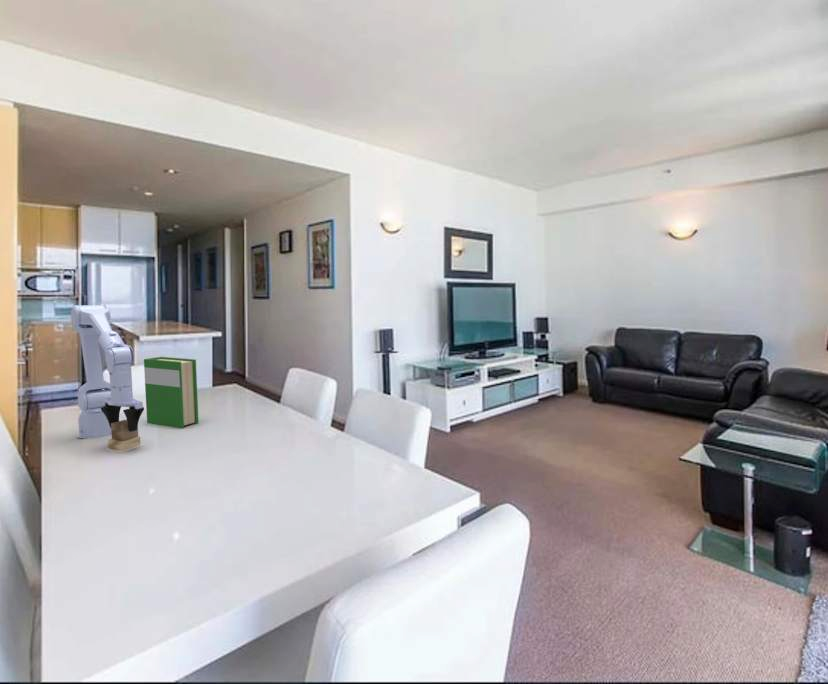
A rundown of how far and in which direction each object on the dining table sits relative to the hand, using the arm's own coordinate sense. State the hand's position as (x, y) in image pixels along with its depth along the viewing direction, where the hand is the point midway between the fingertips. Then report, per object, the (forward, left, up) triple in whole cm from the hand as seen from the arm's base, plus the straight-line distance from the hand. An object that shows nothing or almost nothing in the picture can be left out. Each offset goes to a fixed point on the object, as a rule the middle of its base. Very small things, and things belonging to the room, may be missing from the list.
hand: (123, 429), depth 147 cm
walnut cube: (0, 0, -3) cm, 3 cm away
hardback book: (-10, +28, -6) cm, 30 cm away
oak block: (0, 0, -6) cm, 6 cm away
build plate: (-1, 0, -6) cm, 6 cm away
